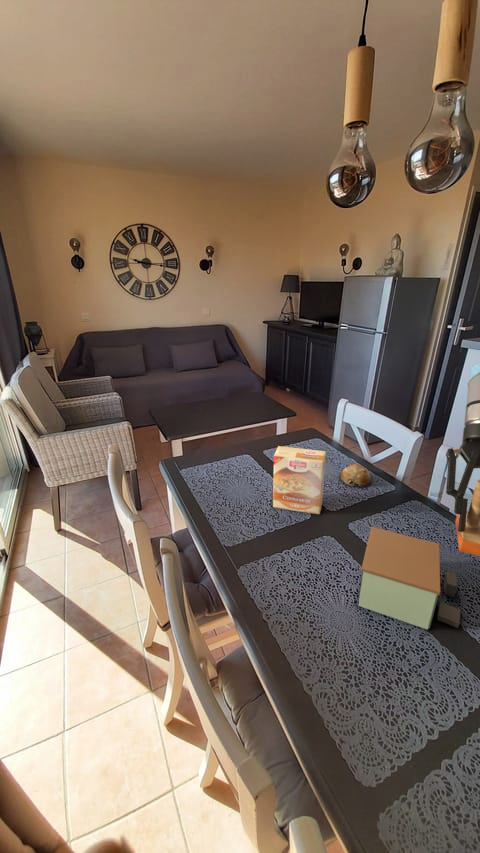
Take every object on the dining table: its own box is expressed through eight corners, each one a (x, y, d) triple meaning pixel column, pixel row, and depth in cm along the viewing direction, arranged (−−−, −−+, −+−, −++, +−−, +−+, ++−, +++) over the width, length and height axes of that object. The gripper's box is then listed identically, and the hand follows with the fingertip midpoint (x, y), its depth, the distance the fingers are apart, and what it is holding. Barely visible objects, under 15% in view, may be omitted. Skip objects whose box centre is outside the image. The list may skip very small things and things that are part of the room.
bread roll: (339, 492, 129) (341, 480, 123) (340, 468, 136) (342, 456, 130) (369, 495, 127) (372, 483, 121) (368, 471, 133) (371, 458, 127)
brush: (455, 522, 82) (469, 468, 77) (475, 526, 81) (491, 472, 75) (459, 551, 74) (476, 493, 68) (482, 556, 73) (501, 498, 67)
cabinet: (433, 583, 87) (443, 544, 82) (433, 635, 75) (445, 593, 70) (365, 563, 93) (371, 526, 88) (356, 608, 81) (361, 568, 76)
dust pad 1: (443, 596, 83) (453, 599, 82) (447, 583, 82) (457, 586, 81) (442, 583, 87) (452, 586, 86) (446, 571, 85) (455, 573, 84)
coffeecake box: (272, 509, 115) (273, 455, 108) (277, 496, 122) (277, 445, 114) (320, 516, 111) (324, 461, 103) (322, 503, 117) (326, 450, 110)
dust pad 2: (440, 601, 80) (438, 608, 81) (437, 615, 77) (436, 621, 77) (460, 609, 78) (458, 616, 79) (459, 623, 75) (457, 630, 75)
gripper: (524, 440, 79) (519, 547, 72) (437, 428, 86) (425, 525, 79) (538, 427, 73) (534, 543, 66) (442, 416, 80) (429, 520, 73)
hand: (474, 533), depth 73 cm, fingers closed on brush, 4 cm apart
